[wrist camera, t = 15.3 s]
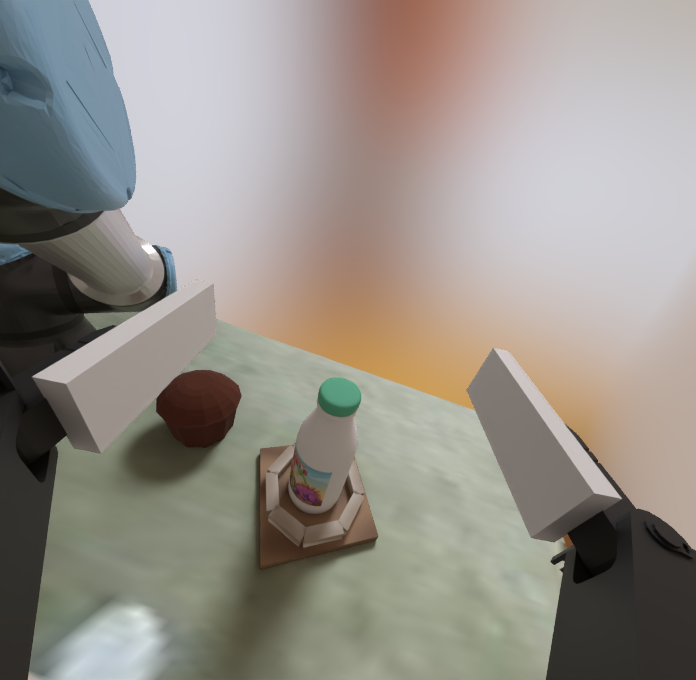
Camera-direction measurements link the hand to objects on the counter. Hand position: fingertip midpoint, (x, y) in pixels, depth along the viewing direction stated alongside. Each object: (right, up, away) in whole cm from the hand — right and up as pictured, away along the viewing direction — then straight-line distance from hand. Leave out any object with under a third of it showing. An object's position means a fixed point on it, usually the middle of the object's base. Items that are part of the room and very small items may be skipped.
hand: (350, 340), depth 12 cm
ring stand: (-5, -23, +27) cm, 35 cm away
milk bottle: (-5, -22, +26) cm, 35 cm away
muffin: (-25, -15, +32) cm, 43 cm away
